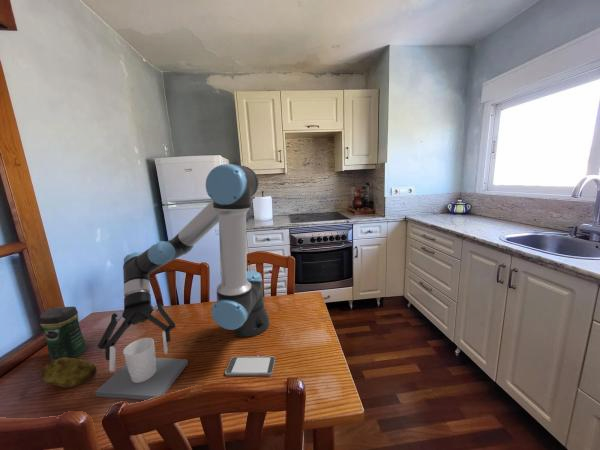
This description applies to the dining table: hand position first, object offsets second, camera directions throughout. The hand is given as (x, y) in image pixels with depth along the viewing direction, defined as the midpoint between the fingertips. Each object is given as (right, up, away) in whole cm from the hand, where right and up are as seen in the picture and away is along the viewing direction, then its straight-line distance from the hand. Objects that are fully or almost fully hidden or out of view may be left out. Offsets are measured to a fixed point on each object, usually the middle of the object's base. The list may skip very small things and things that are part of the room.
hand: (140, 362), depth 72 cm
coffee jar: (-37, -7, +16) cm, 40 cm away
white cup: (-1, -6, +3) cm, 7 cm away
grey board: (-1, -7, +3) cm, 8 cm away
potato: (-24, -9, +3) cm, 26 cm away
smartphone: (+32, -6, +6) cm, 33 cm away
